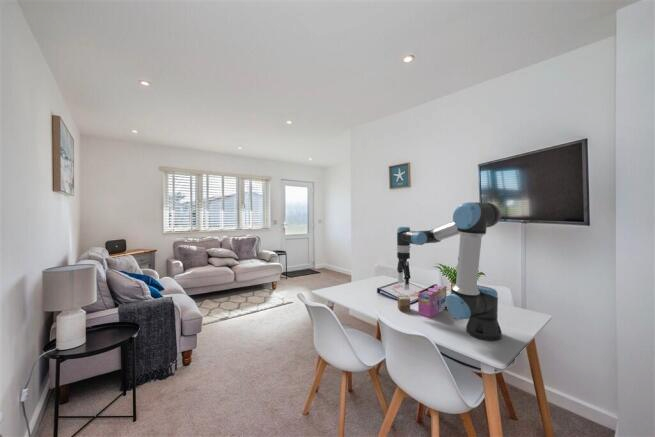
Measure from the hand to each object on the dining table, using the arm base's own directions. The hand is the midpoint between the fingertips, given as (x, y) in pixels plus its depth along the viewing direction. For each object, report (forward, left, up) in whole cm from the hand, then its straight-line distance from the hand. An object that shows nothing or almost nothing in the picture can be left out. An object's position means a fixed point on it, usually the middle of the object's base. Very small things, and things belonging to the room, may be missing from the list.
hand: (403, 286), depth 165 cm
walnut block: (0, 0, -15) cm, 15 cm away
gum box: (-3, -17, -15) cm, 23 cm away
